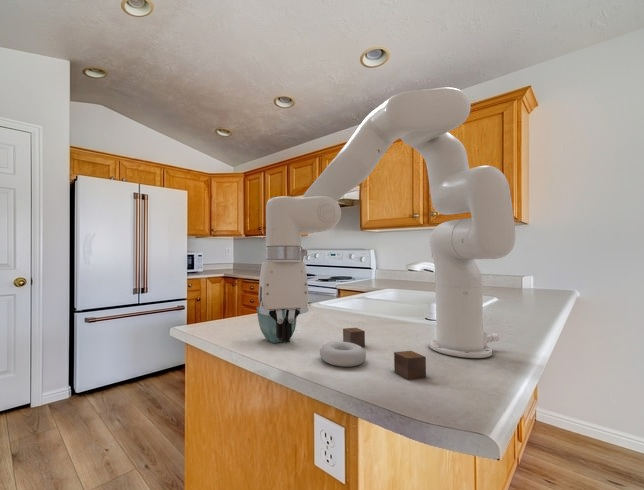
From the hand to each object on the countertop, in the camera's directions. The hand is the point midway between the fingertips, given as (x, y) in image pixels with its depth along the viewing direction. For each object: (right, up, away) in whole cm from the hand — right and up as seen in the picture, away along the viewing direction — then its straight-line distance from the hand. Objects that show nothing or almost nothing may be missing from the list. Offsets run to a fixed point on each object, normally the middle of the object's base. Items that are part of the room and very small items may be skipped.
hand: (283, 340), depth 68 cm
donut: (+13, -5, +3) cm, 15 cm away
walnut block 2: (+24, -5, -6) cm, 25 cm away
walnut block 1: (+20, -5, +15) cm, 25 cm away
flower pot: (0, -6, +20) cm, 21 cm away
